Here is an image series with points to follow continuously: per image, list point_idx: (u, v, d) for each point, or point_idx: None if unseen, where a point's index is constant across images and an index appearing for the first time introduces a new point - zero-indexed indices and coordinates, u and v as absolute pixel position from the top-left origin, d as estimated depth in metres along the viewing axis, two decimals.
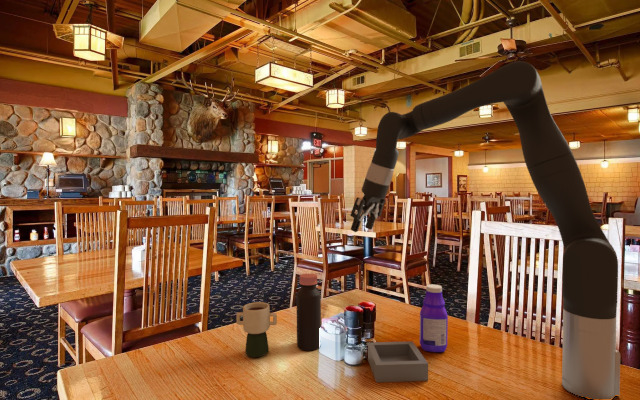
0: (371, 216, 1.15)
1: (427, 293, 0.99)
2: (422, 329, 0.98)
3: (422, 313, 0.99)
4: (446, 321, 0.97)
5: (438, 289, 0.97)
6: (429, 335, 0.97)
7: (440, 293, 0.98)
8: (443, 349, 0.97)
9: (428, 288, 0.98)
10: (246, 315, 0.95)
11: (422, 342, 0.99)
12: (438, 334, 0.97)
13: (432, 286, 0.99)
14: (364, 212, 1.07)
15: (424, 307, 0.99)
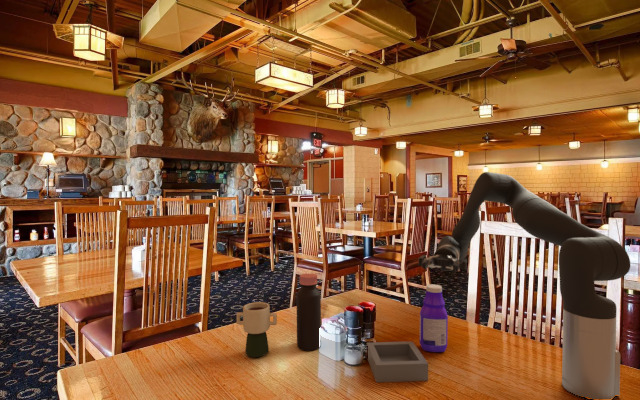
0: None
1: (427, 293, 0.99)
2: (422, 329, 0.98)
3: (422, 313, 0.99)
4: (446, 321, 0.97)
5: (438, 289, 0.97)
6: (429, 335, 0.97)
7: (440, 293, 0.98)
8: (443, 349, 0.97)
9: (428, 288, 0.98)
10: (246, 315, 0.95)
11: (422, 342, 0.99)
12: (438, 334, 0.97)
13: (432, 286, 0.99)
14: None
15: (424, 307, 0.99)
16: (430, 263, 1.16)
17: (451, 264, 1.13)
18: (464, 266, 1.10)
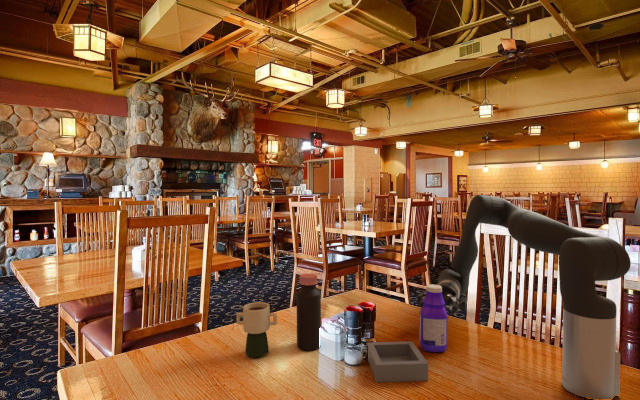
0: None
1: (427, 293, 0.99)
2: (422, 329, 0.98)
3: (422, 313, 0.99)
4: (446, 321, 0.97)
5: (438, 289, 0.97)
6: (429, 335, 0.97)
7: (440, 293, 0.98)
8: (443, 349, 0.97)
9: (428, 288, 0.98)
10: (246, 315, 0.95)
11: (422, 342, 0.99)
12: (438, 334, 0.97)
13: (432, 286, 0.99)
14: None
15: (424, 307, 0.99)
16: None
17: (450, 303, 1.09)
18: (464, 306, 1.06)
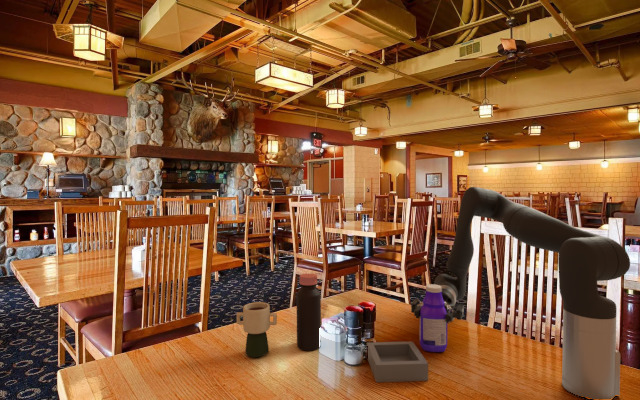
0: None
1: (427, 293, 0.99)
2: (422, 329, 0.98)
3: (422, 313, 0.99)
4: None
5: (438, 289, 0.97)
6: (429, 335, 0.97)
7: (440, 293, 0.98)
8: (443, 349, 0.97)
9: (428, 288, 0.98)
10: (246, 315, 0.95)
11: (422, 342, 0.99)
12: (438, 334, 0.97)
13: (432, 286, 0.99)
14: None
15: (424, 307, 0.99)
16: None
17: None
18: (459, 315, 0.99)
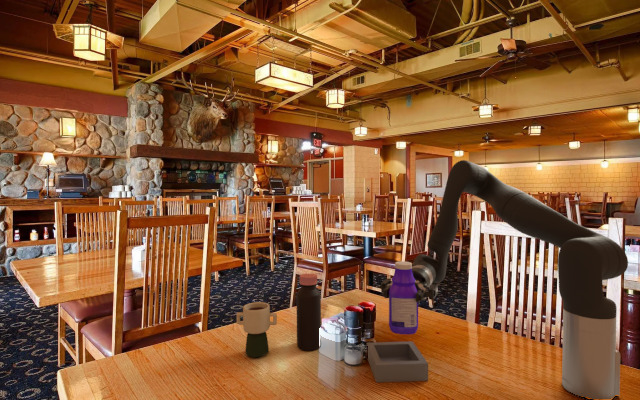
0: None
1: (396, 270, 0.90)
2: (390, 309, 0.90)
3: (390, 292, 0.90)
4: None
5: (407, 266, 0.89)
6: (398, 315, 0.89)
7: (410, 270, 0.89)
8: (413, 331, 0.89)
9: (397, 265, 0.90)
10: (246, 315, 0.95)
11: (391, 324, 0.90)
12: (407, 315, 0.89)
13: (401, 263, 0.90)
14: None
15: (393, 286, 0.91)
16: None
17: (417, 291, 0.94)
18: (431, 294, 0.90)
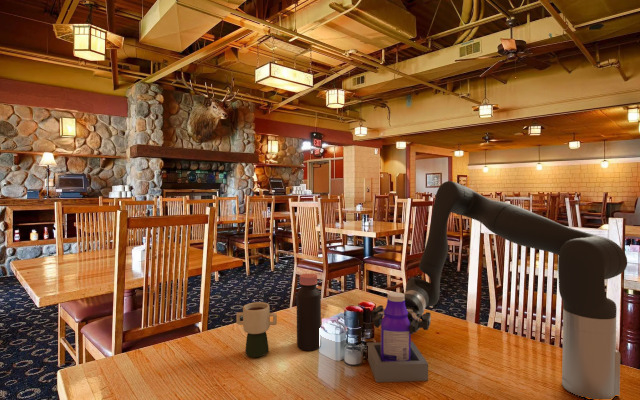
0: None
1: (388, 302, 0.88)
2: (382, 342, 0.88)
3: (382, 324, 0.88)
4: (409, 333, 0.87)
5: (400, 298, 0.87)
6: (390, 349, 0.87)
7: (402, 302, 0.87)
8: None
9: (389, 296, 0.88)
10: (246, 315, 0.95)
11: (382, 357, 0.88)
12: (399, 348, 0.87)
13: (394, 294, 0.88)
14: None
15: (385, 318, 0.88)
16: None
17: (410, 321, 0.91)
18: (425, 325, 0.88)
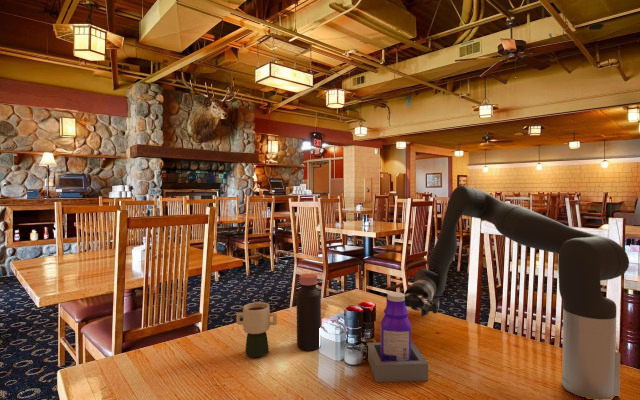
0: None
1: (388, 302, 0.88)
2: (382, 342, 0.88)
3: (382, 324, 0.88)
4: (409, 333, 0.87)
5: (400, 298, 0.87)
6: (390, 349, 0.87)
7: (402, 302, 0.87)
8: None
9: (389, 296, 0.88)
10: (246, 315, 0.95)
11: (382, 357, 0.88)
12: (399, 348, 0.87)
13: (394, 294, 0.88)
14: None
15: (385, 317, 0.88)
16: None
17: (421, 305, 1.03)
18: (435, 309, 1.00)
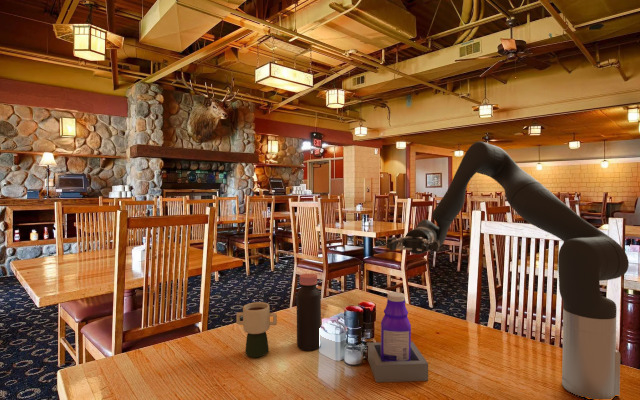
0: None
1: (388, 302, 0.88)
2: (382, 342, 0.88)
3: (382, 324, 0.88)
4: (409, 333, 0.87)
5: (400, 298, 0.87)
6: (390, 349, 0.87)
7: (402, 302, 0.87)
8: None
9: (389, 296, 0.88)
10: (246, 315, 0.95)
11: (382, 357, 0.88)
12: (399, 348, 0.87)
13: (394, 294, 0.88)
14: None
15: (385, 317, 0.88)
16: (399, 245, 1.05)
17: (422, 245, 1.02)
18: (435, 247, 0.99)
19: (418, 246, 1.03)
